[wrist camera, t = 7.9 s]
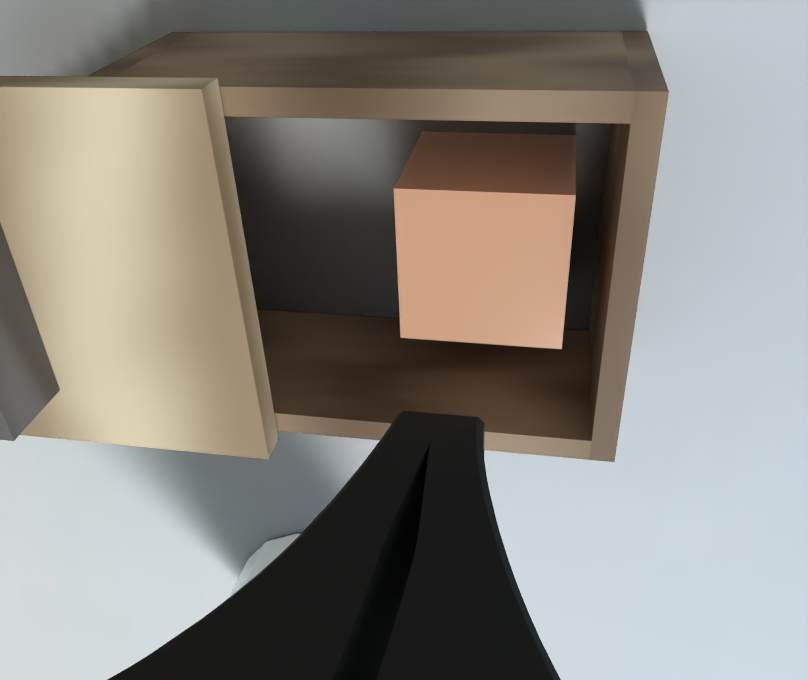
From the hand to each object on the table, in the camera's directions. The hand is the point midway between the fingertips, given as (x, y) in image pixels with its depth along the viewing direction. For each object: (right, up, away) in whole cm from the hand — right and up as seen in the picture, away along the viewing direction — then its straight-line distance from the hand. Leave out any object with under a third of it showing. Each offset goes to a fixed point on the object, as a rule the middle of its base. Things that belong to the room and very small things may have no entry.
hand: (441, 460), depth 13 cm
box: (-1, +6, +9) cm, 11 cm away
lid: (-10, +4, +6) cm, 13 cm away
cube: (+2, +6, +9) cm, 10 cm away
